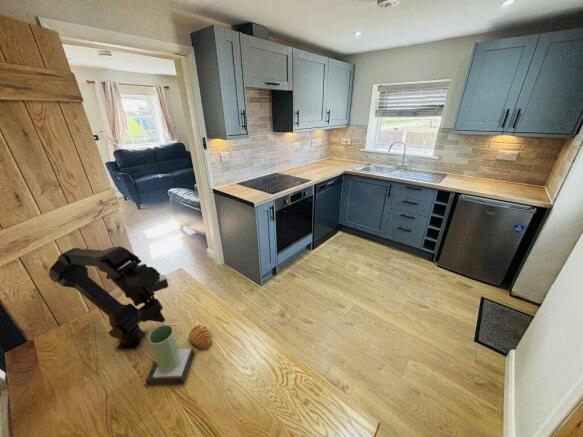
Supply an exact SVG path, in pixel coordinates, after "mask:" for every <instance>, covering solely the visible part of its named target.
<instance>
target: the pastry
mask: <svg viewBox="0 0 583 437" xmlns="http://www.w3.org/2000/svg"><path fill="white" fill-rule="evenodd" d="M211 336H212V335H211V332H210V331H209V329H208V327H207V326H205V325H203V324H196V325H195V326H194V327H193V328H192V329H191V330H190V331H189V333H188V338H189V341H190V342H191V343H192V345H194V347H197V348H198V349H201V350H205V349H207V348H208V347H209V346H210V345H211V342H212V339H211V338H212V337H211Z"/></svg>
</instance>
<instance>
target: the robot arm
mask: <svg viewBox="0 0 583 437" xmlns="http://www.w3.org/2000/svg"><path fill="white" fill-rule="evenodd" d="M57 257H58V258H57V260H56V261H55V262H54V263H53V265H51V266H50V267H49V268H50V269H49V272H48V277H49V279H50V280H51V281H52V282H54V283H57V284H58V285H60V286H62V287H64V288H72V289H76V291H78V292H79V293H80V294H81V295H82V296H83V297H85V298H86V299H87V300H88V301H90V302H91V303H92V304H93V305H94V306H96V307H97V308H98V309H99V310H100V311H101V312H103V313H104V314H105V315H107V317H108V321H109V326H110V327H111V330H109V331H108V334H109V335H110V336H111V338H114V339H117V340H118V341H119V344H118V346H117V349H118V350H119V349H136V348H137V347H138V346H139V344H140V343H141V341H142V340H143V338H144V336H145V334H146V331H143V330H142V328H140V323H146V322H147V321H149V322H157V323H164V322H166V318H165V317H164V315H163V312H162V310H163V305H162V303H161V301H160V300H159V298H155V295H156V293H155V292H158V291H161V290H163V289H165V290H166V289H167V288H169V283H168V278H167V276H166V274H165V273H162V272H161V273H160V272H159V271H158V270H157V269H156V268H155V267H153V266H147V264H146V263H142V260H141V259H140V258H139V256H137V254H134V253H132V252H131V251H130V250H129V249H127V248H125V247H124V246H113V247H109V248H106V249H87V248H80V247H73V248H71V249H68V250H66V251H64V252H62V253H60V254H59V255H58V256H57ZM88 266H89V267H96V268H97V269H98V271H99V272H102V273H105V274H106V277H105V278H106V279H107V280H111V282H113V283H114V284H115V285H116V286H117V287H118V288H119V290H121V291H122V292H123V293H124V296H125V297H126V298H127V299H130V300H131V301H132V303H133V304H132V303H127V304H124V303H121V302H120V301H119V300H118V299H116V298H115V297H114V296H113V295H112V294H110V293H109V292H108V291H107V290H106V289H104V288H103V287H102V286H101V285H100V284H99V283H97V282H96V281H95V280H93V279H92V277H90V276H89V269H88ZM142 304H143V305H142ZM139 305H142V306H140V307H139V308H137V307H138V306H139Z"/></svg>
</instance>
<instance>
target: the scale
mask: <svg viewBox="0 0 583 437" xmlns="http://www.w3.org/2000/svg"><path fill="white" fill-rule="evenodd" d="M179 351H180V354H181V361H180V363H179V365H178V366H177V367H176V368H175V369H173V370H172V371H169V372H161V371H160V370H159V369H158V367H157V364H156V361H155V360H154V362H153V364H152V366H151V368H150V371H149V372H148V375H147V376H146V378H145V382H146V384H147V386H153V385H154V386H155V385H181V384H184V383H185V380H186V377H187V374H188V372H189V369H190V366H191V365H192V364H191V363H192V360H193V358H194V356H195V351H194V349H193V348H179Z"/></svg>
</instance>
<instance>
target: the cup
mask: <svg viewBox="0 0 583 437" xmlns="http://www.w3.org/2000/svg"><path fill="white" fill-rule="evenodd" d="M177 340H178V339H177V337H176V333H175V330H174V327H173V326H172V325H170V324H161V325H159V326H157V327H154V328H153V329H152V330H151V331H150V332H149V334H148V336H147V341H148V344H149V347H150V350H151V352H152V355H153V359H154V362H155V361H156V364H157V367H158V369H159V370H160V371H161V372H169V371H172V370H173V369H175V368H176V367H177V366H178V365H179V363H180V361H181V354H180V351H179V349H180V347H179V344H178V341H177Z"/></svg>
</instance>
